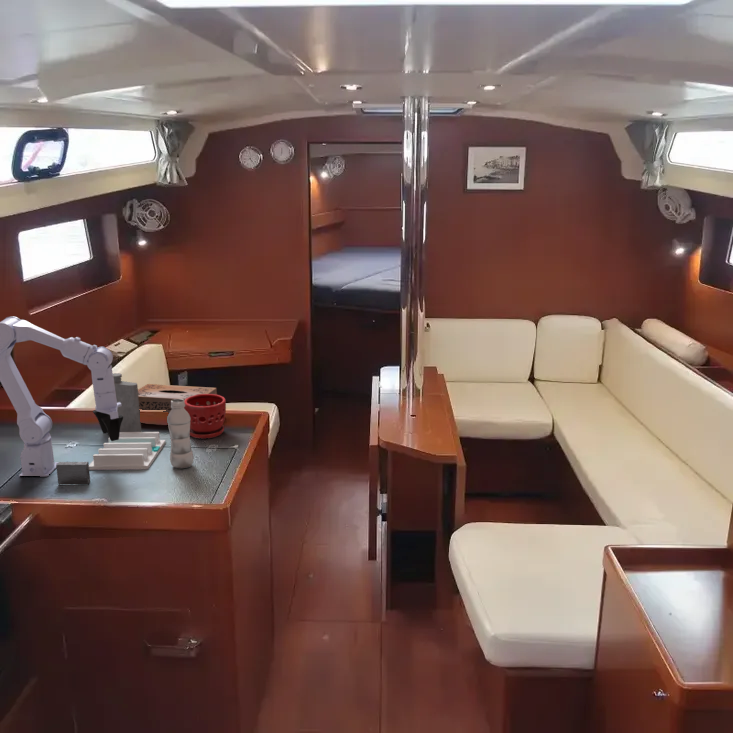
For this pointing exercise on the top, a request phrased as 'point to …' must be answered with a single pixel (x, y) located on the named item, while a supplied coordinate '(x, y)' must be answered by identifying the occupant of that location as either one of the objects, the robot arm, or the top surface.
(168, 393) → the tissue box cover
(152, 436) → the slot rack
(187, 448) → the plastic bottle
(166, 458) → the top surface
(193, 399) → the plant pot
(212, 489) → the top surface
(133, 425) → the hip flask
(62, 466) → the rectangular block
